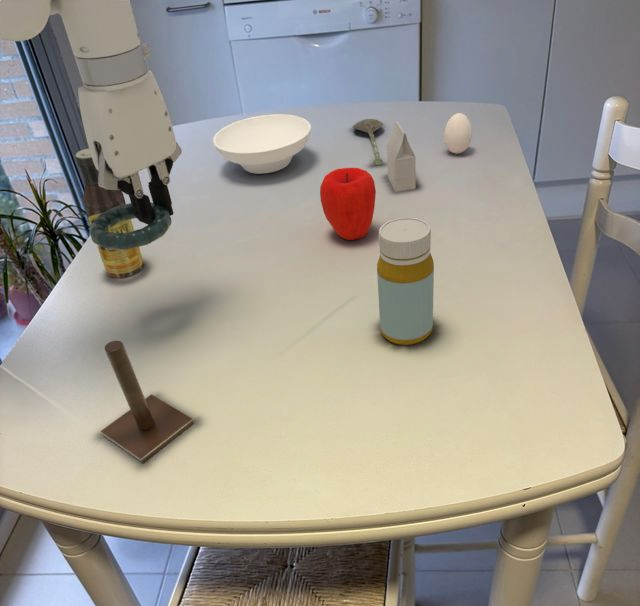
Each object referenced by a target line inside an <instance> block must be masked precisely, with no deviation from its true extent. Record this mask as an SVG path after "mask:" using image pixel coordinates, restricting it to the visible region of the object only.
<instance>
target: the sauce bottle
mask: <svg viewBox="0 0 640 606" xmlns="http://www.w3.org/2000/svg"><path fill="white" fill-rule="evenodd" d="M74 157H75V160H76V164H77V165H78V167H79V168H80V171H81V175H82V177H83V182H84V190H83V195H82V202H83V205H84V208H85V211H86V214H87V220H88V223H89V226H90V225H91V224H92V223H93V221H94V220H95V219H96V218H97V217H98V216H99V215H100V214H102V213H104V212H106V211H108V210H110V209H112V208H114V207H116V206H120V205H125V204H127V203H126V200H125V196H124V192H122V191H120V190H107V189H104V188H101V187H99V185H98V174H99V171H98V170H97V169H96V167H95V165H94V162H93V159H92V156H91V153H90V150H89V147H88V148H84V149H81V150H79V151H77V152H76V153H75V155H74ZM131 231H135V229H134V224H133V221H132V219H130V220H126V221H122V222H120V223H118V224H116V225H114V226H112V227H110V228H109V230H108V231H107V232H109V233H127V232H131ZM96 247H97V249H98V253H99V255H100V258H101V261H102V265H103V268H104V270H105V271H106V274H107V276H109V277H110V278H112V279H126V278H129V277H132V276H134V275H136V274H138V273H140V272H141V270H142V269H143V267H144V259H143V256H142V252H141V248H140V247H136V248H132V249H128V250H109V249H106V248H104V247H102V246H99V245H97V244H96Z"/></svg>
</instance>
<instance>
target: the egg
mask: <svg viewBox="0 0 640 606" xmlns="http://www.w3.org/2000/svg"><path fill="white" fill-rule="evenodd" d="M472 138H473V127H472V124H471V121H470V120H469V117H468V116H466V115H465V114H464V113H463V112H462V113H461V112H458V113H455V114H453V115H452V116H451V117H450V118H449V120H448V121H447V123H446V125H445V128H444V133H443V140H444V144H445V147H446V148H447V150H449V152H450V153H452V154H455V155H459V154H462V153H464V152H465V151H466V150H467V149H468V148H469V146H470V145H471V142H472Z"/></svg>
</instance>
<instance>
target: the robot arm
mask: <svg viewBox="0 0 640 606" xmlns="http://www.w3.org/2000/svg"><path fill="white" fill-rule="evenodd" d="M131 4H132V3H131V1H130V0H0V39H1V40H3V41H10V42H25V41H28V40H31V39H33V38H35V37H36V36H38V35H39V34H40V33H41V32H43V30H44V29H45V27H46V25H47V23H48V20H49V17H50V16H53V15H54V16H55V15H59V16H60V17H61V20H62V23H63V26H64V29H65V32H66V35H67V39H68V41H69V45H70V48H71V51H72V54H73V56H74V60H75V64H76V66H77V69H78V72H79V76H80V78H81V82H82V85H81V86H80V87H78V88H77V93H78V94H77V96H78V103H79V111H80V116H81V121H82V126H83V130H84V134H85V138H86V142H87V146H88V148H89V150H90V153H91V156H92V159H93V162H94V165H95V167H96V169H97V170H98V171H99V174H98V185H99V187H101V188H104V189H107V190H120V191H122V193H123V194H125V195H127V196H128V198H129V201H130V203H131V204H132V207H133V210H134V214H135V216H136V218H135V219H137V221H138V222H140V223H143V224H146V225H149V224H151V223H152V222H153V221H154V220H155V218H154V213H153V209H152V206H151V201H152V203H155V204H158V205H160V206H163V207H165V208H166V209H167V210H168V212H169V215H170V217H171V216H173V215H174V209H173V206H172V205H173V202H172V198H171V194H170V190H169V186H168V185H169V184H170V182H171V177H170V174H171V172H172V169H173V166H174V163H175V162H176V161H177V160H178V159H179V157H180V156H181V154H182V153H183V150H182V147H181V146H180V145H179V143H178V142H177V140H176V136H175V130H174V127H173V124H172V121H171V117H170V113H169V110H168V107H167V104H166V101H165V99H164V96H163V94H162V91H161V88H160V87H159V84H158V82H157V79H156V78H155V75H154V72H153V71H151V70H150V69H148V67H147V66H148V65H147V60H146V58H147V57H150V55H151V49H150V46H149V45H148V44H147V43H142V42H141V39H140V36H139V31H138V27H137V23H136V20H135V16H134V12H133V9H132V8H133V7H132V5H131ZM145 169H146V171H147V173H148V177H149V179H150V181H149V182H147V185H148V190H149V194H150V197H151V198H150V197H149V196H148V195H147V194H145V193H144V188H143V186H142V185H143V184H142V181H141V177H140V173H139V172H141V171H143V170H145ZM114 176H115V177H114Z"/></svg>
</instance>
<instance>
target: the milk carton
mask: <svg viewBox="0 0 640 606" xmlns="http://www.w3.org/2000/svg"><path fill="white" fill-rule="evenodd" d="M386 161H387V164H386V165H387V178H388V181H389V182H390V184H391V186H392V188H393V190H394V192H395V193H399V192H404V191H410V190H416V189H417V187H416V186H417V184H416V180H417V179H416V177H417V176H416V173H417V172H416V171H417V170H416V155H415V153H414V151H413V149H412V146H411V145H410V142H409V140H408V137H407V133H406V132H405V131H404V129H403V127H402V125H401V124H400V122H398V120H397V121H394V127H393V130H392V132H391V135H390V137H389V140H388V141H387V144H386Z"/></svg>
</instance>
